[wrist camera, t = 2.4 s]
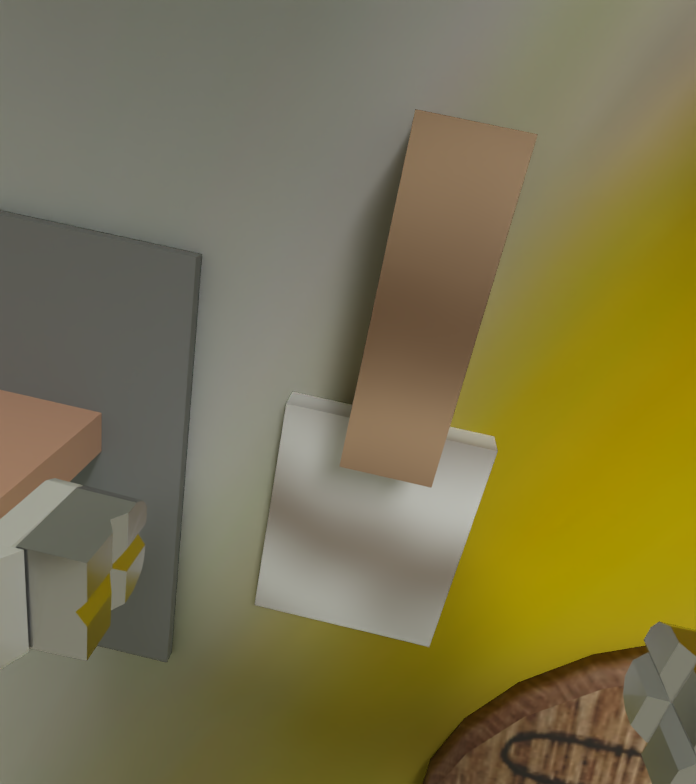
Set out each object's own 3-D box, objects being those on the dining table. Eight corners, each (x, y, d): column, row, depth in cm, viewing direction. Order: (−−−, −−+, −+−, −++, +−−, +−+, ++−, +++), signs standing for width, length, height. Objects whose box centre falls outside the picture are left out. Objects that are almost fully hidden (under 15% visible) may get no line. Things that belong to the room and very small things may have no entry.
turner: (339, 100, 16) (313, 87, 12) (591, 151, 15) (642, 155, 12) (261, 586, 23) (230, 669, 20) (429, 626, 23) (429, 718, 19)
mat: (-219, 162, 18) (-235, 163, 18) (201, 254, 18) (196, 257, 17) (-125, 581, 26) (-135, 588, 25) (171, 653, 25) (166, 662, 25)
